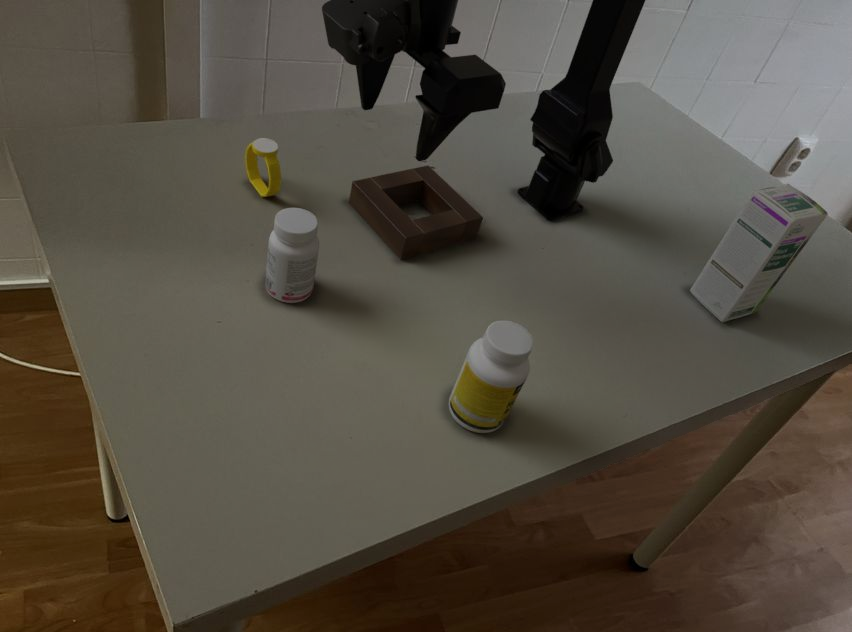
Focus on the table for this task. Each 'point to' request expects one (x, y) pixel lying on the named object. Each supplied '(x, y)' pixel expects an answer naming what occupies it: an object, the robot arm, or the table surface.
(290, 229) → the pill bottle
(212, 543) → the table surface
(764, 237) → the syrup box
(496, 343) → the supplement bottle
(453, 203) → the socket block
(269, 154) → the watch
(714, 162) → the table surface
